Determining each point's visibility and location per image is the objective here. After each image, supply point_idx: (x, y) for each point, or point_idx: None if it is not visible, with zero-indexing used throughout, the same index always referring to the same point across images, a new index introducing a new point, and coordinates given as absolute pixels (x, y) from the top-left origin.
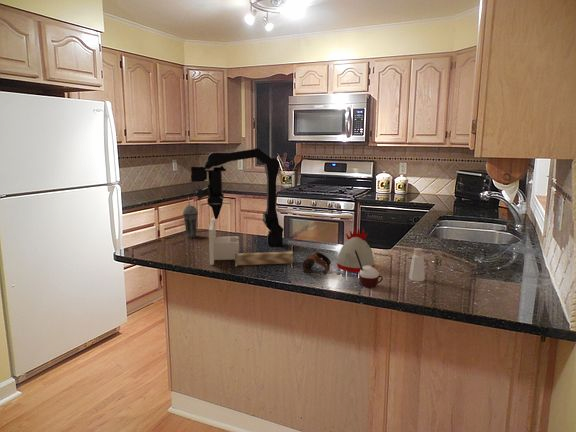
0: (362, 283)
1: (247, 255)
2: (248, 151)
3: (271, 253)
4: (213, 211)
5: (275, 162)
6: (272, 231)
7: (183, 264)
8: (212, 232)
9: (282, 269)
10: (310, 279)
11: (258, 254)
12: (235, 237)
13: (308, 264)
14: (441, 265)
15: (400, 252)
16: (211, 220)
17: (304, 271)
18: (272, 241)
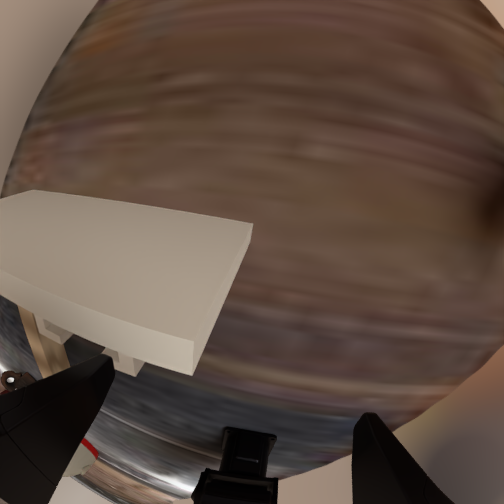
0: (5, 390)
1: (21, 315)
2: None
3: (44, 374)
4: (22, 392)
5: None
6: (202, 474)
7: (52, 93)
8: None
9: (30, 353)
10: (6, 359)
11: (30, 344)
12: (119, 357)
13: (13, 383)
14: (98, 480)
15: (152, 498)
16: (50, 297)
17: (25, 373)
18: (229, 446)
